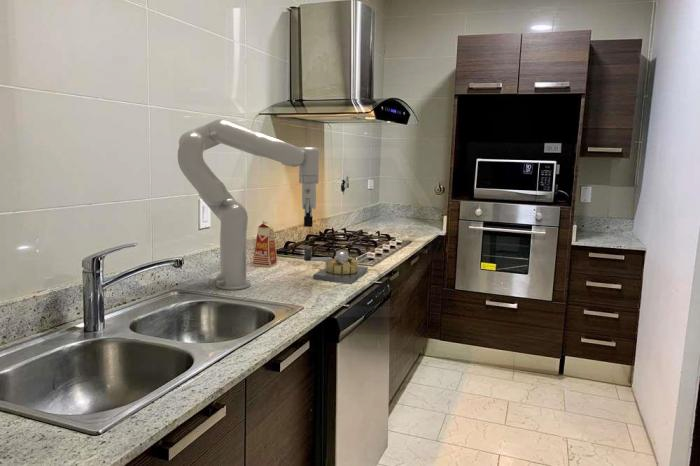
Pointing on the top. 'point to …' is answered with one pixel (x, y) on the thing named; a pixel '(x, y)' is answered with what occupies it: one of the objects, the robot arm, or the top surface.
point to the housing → (340, 278)
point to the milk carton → (265, 247)
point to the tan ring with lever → (333, 263)
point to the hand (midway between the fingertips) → (308, 226)
